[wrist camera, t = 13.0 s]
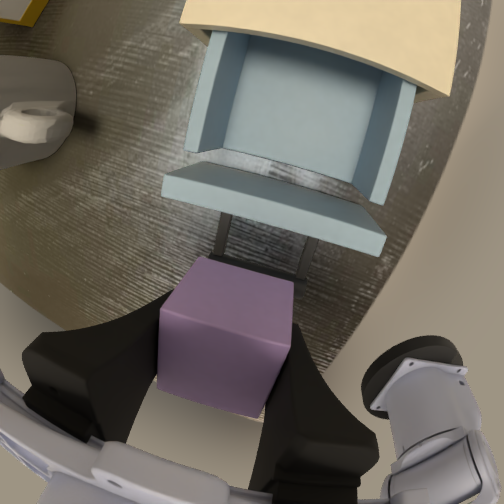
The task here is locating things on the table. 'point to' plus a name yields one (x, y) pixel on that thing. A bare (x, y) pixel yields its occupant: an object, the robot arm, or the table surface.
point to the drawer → (292, 142)
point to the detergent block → (224, 336)
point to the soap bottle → (21, 11)
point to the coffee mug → (34, 108)
